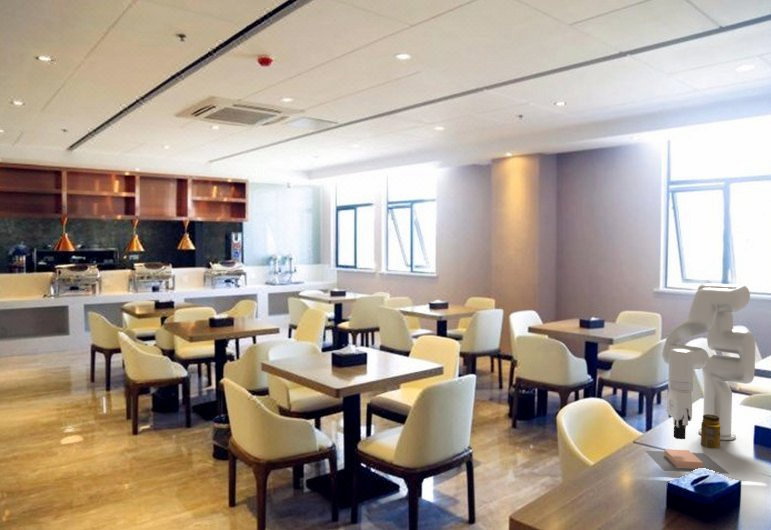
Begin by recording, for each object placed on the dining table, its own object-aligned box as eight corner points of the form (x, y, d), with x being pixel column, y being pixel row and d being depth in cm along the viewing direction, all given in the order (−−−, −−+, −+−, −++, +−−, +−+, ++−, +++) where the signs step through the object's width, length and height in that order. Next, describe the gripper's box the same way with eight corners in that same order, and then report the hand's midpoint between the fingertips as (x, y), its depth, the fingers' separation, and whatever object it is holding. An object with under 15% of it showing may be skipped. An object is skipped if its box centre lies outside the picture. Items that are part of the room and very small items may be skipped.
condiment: (724, 449, 205) (725, 417, 204) (713, 454, 200) (713, 420, 200) (704, 443, 211) (705, 412, 210) (692, 447, 206) (693, 415, 206)
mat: (644, 453, 200) (645, 450, 200) (704, 455, 198) (704, 453, 198) (664, 473, 182) (664, 470, 182) (729, 476, 180) (729, 473, 180)
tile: (664, 449, 195) (677, 461, 184) (688, 450, 194) (702, 462, 183) (664, 455, 195) (677, 468, 184) (688, 456, 194) (702, 469, 183)
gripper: (661, 379, 200) (659, 430, 200) (677, 390, 185) (676, 445, 185) (683, 380, 199) (682, 431, 199) (701, 391, 184) (700, 446, 184)
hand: (679, 438), depth 192 cm, fingers closed
